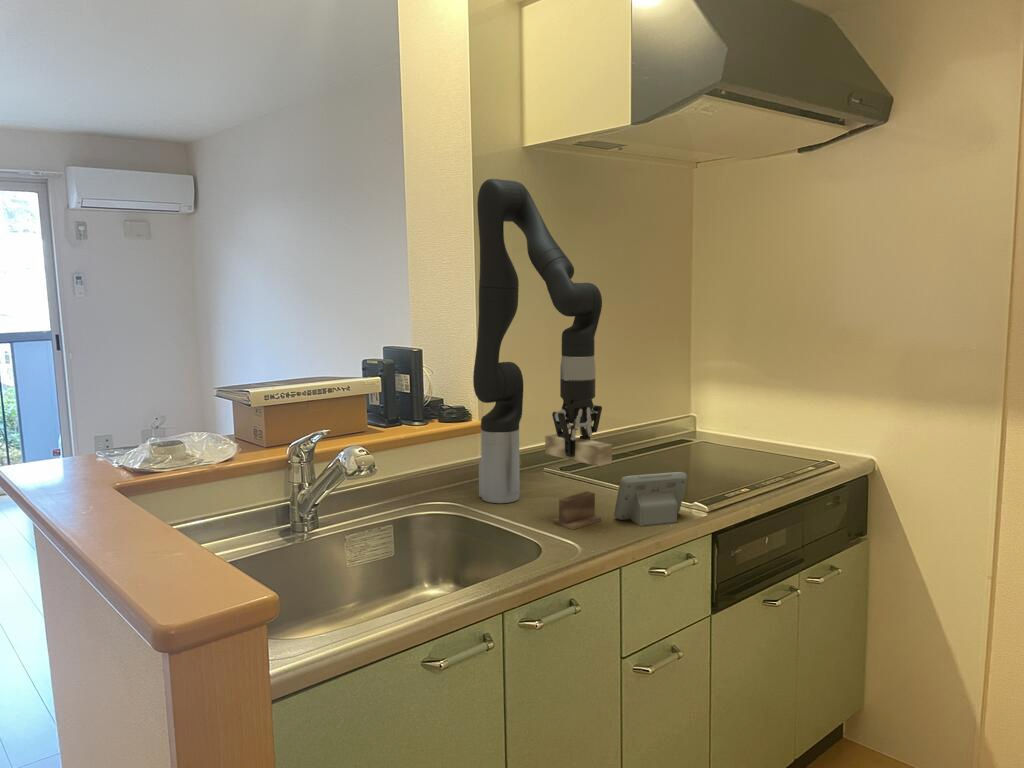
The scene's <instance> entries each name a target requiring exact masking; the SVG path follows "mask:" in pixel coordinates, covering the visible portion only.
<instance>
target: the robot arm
mask: <svg viewBox="0 0 1024 768" xmlns="http://www.w3.org/2000/svg"><path fill="white" fill-rule="evenodd" d="M476 204H477V222H478V223H477V224H478V237H479V280H478V281H479V282H478V320H477V322H478V326H477V340H476V348H475V349H476V350H475V357H474V358H475V359H474V367H473V377H472V378H473V379H472V382H473V383H472V384H473V390H474V393H475V396H476V398H477V399H478V400H479V401H480V402H481V403H485V404H488V403H489V404H491V403H495V405H494V406H493V407H492V409H491V410H490V411H489V412H487V413H486V414H484V415H483V416H482V417H481V419H480V446H481V447H480V448H481V449H480V451H481V453H480V455H481V456H480V458H479V459H478V497H479V498H481V500H482V501H485V502H487V503H491V504H508V503H514V502H516V501H518V500H519V499H520V422H521V419H522V416H523V408H524V407H523V402H524V378H523V374H522V371H521V368H520V367H519V366H518V364H517V363H515V362H512V361H501V362H499V361H500V351H501V346H502V342H503V340H504V337H505V335H506V333H507V332H508V330H509V328H510V326H511V325H512V322H513V320H514V318H515V316H516V313H517V311H518V307H519V306H518V305H519V286H520V284H519V282H520V281H519V276H518V273H517V271H516V268H515V266H514V263H513V262H512V260H511V257H510V255H509V253H508V251H507V248H506V244H505V235H504V228H505V227H504V226H505V225H504V223H505V222H509V223H510V222H511V223H513V224H514V225H516V226H517V227H518V228H519V230H521V231H522V233H523V234H524V237H525V239H526V248H527V254H528V258H529V260H530V262H531V264H532V266H533V268H534V269H535V270H536V272H537V273H538V274H539V276H540V277H541V279H542V280H543V281H544V282H545V285H546V289H547V292H548V294H549V297H550V300H551V303H552V304H553V307H554V309H555V310H556V311H557V312H558V313H560V314H561V315H563V316H565V317H574V319H573V323H572V325H571V326H570V327H567V328H566V329H564V330H563V331H562V333H561V358H560V367H559V368H560V371H559V372H560V373H559V374H560V375H559V376H560V377H559V378H560V389H559V391H560V393H559V394H560V395H559V396H560V398H561V399H562V406H561V408H560V410H558V411H553V412H552V414H551V415H552V420H553V423H554V428H555V431H556V434H557V436H558V437H561V438H564V440H565V454H566V456H568V457H574V456H575V440H574V439H575V437H576V435H577V434H576V433H577V431H578V430H579V433H580V435H579V438H582V439H587V440H591V436H592V435H593V434H594V433H597V432H598V428H599V424H600V420H601V415H602V410H603V407H602V405H597V404H596V405H595V404H594V402H593V399H595V397H596V360H595V358H596V357H595V336H596V332H597V328H598V325H599V321H600V316H601V313H602V307H603V297H602V294H601V291H600V289H599V287H598V286H597V285H596V284H594V283H591V282H574V281H572V278H573V277H574V274H575V267H574V265H573V263H572V261H571V260H570V259H569V257H568V256H567V255H566V254H565V253H564V251H563V250H562V249H561V247H560V246H559V245H558V243H557V242H556V240H555V239H554V237H553V236H552V235H551V232H550V231H549V229H548V227H547V225H546V223H545V221H544V219H543V217H542V215H541V213H540V211H539V209H538V207H537V206H536V204H535V202H534V199H533V197H532V196H531V194H530V192H529V190H528V189H527V187H526V186H525V185H524V184H522V183H521V182H519V181H516V180H510V179H509V180H507V179H498V178H488V179H486V180H485V181H483V183H481V185H480V188H479V190H478V194H477V203H476Z"/></svg>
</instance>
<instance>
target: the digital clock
mask: <svg viewBox="0 0 1024 768" xmlns="http://www.w3.org/2000/svg"><path fill="white" fill-rule="evenodd" d="M687 482H688V475H687V473H686V472H683V471H676V472H675V471H674V472H663V473H661V472H660V473H648V474H638V475H637V474H635V475H627V476H623V477H621V479H620V481H619V485H618V491H617V496H616V502H615V505H614V506H615V507H614V512H613V517H614V518H615V519H616V520H631V521H632V522H633V523H635V524H636V525H637V526H639V527H644V526H654V525H656V526H657V525H664V524H675V523H677V521H678V515H679V513H680V511H681V507H682V503H683V499H684V495H685V491H686V487H687Z"/></svg>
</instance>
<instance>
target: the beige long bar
mask: <svg viewBox="0 0 1024 768" xmlns="http://www.w3.org/2000/svg"><path fill="white" fill-rule="evenodd" d="M574 440H575V456H574V457H568V456H566V454H565V440H564V438H561V437H558V436H557V433H555V434H549V435H545V436H544V454H545V455H549V456H553V457H559V458H562V459H566V460H570V461H574V462H579V463H584V464H588V465H592V466H597V467H602V466H605V465H609V464H612V463H613V444H610V443H606V442H602V441H596V440H591V439H590V440H587V439H582V438H580V437H577V436H575V439H574Z"/></svg>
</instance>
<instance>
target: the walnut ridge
mask: <svg viewBox="0 0 1024 768" xmlns="http://www.w3.org/2000/svg"><path fill="white" fill-rule="evenodd" d="M595 501H596V494H595V492H591V491H588V490H587V491H583V492H580V493H577V494H572V495H569V496H566V497H561V498H559V499H558V517H557V518H553V519H552V524H555V525H558V526H560V527H564V528H567V529H571V530H577V529H579V528H583V527H585V526H588V525H591V524H594V523H597V522H600V521H601V520H602V519H601V518H602V516H599V515H596V514H595V513H596V511H595V510H596V504H595V503H596V502H595Z"/></svg>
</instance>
